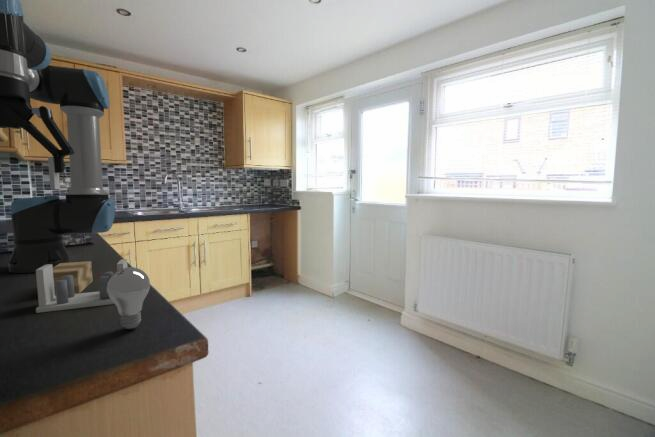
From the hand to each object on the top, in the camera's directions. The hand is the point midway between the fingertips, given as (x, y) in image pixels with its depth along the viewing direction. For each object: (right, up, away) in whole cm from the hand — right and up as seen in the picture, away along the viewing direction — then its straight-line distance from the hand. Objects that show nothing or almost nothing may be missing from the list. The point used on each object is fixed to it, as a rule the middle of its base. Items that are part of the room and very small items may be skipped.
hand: (12, 189), depth 63 cm
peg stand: (+6, -25, +11) cm, 28 cm away
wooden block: (-5, -25, +20) cm, 32 cm away
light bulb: (+25, -27, -2) cm, 37 cm away
